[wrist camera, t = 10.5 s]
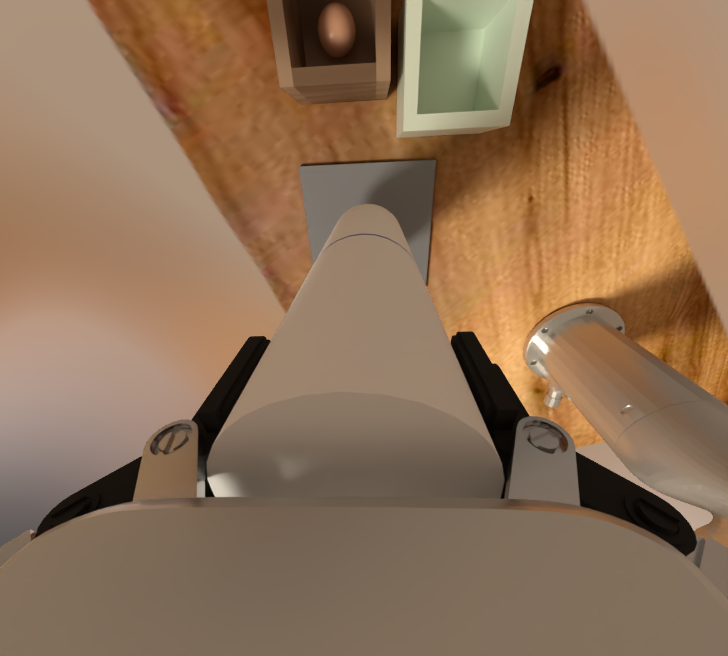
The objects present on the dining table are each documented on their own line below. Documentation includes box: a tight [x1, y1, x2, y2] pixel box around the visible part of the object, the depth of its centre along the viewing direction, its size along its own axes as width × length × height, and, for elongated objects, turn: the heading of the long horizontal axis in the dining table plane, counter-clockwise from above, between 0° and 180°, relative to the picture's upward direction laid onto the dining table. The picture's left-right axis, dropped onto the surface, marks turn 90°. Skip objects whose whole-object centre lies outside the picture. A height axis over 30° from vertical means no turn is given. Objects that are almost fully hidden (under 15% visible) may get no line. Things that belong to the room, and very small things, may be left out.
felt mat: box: [299, 160, 436, 285], centre depth 32 cm, size 14×14×1 cm
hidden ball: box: [318, 2, 356, 58], centre depth 22 cm, size 3×3×3 cm
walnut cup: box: [267, 0, 391, 105], centre depth 21 cm, size 8×8×7 cm
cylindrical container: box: [207, 204, 505, 499], centre depth 17 cm, size 7×7×25 cm
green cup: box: [396, 0, 533, 138], centre depth 22 cm, size 8×8×7 cm
